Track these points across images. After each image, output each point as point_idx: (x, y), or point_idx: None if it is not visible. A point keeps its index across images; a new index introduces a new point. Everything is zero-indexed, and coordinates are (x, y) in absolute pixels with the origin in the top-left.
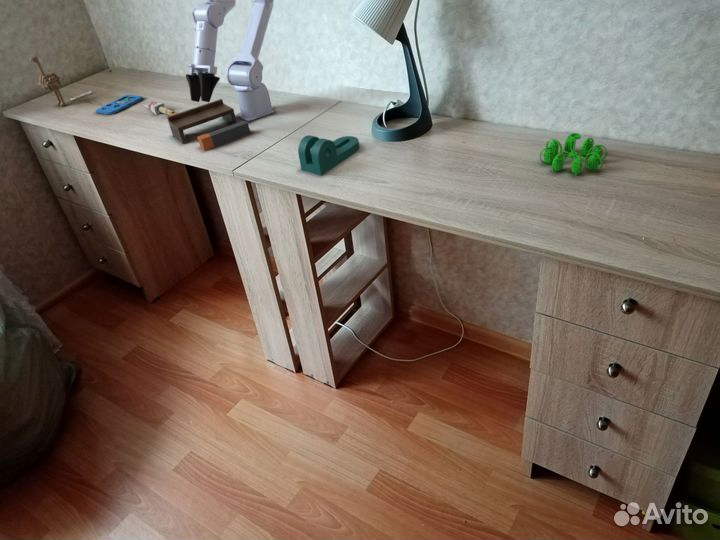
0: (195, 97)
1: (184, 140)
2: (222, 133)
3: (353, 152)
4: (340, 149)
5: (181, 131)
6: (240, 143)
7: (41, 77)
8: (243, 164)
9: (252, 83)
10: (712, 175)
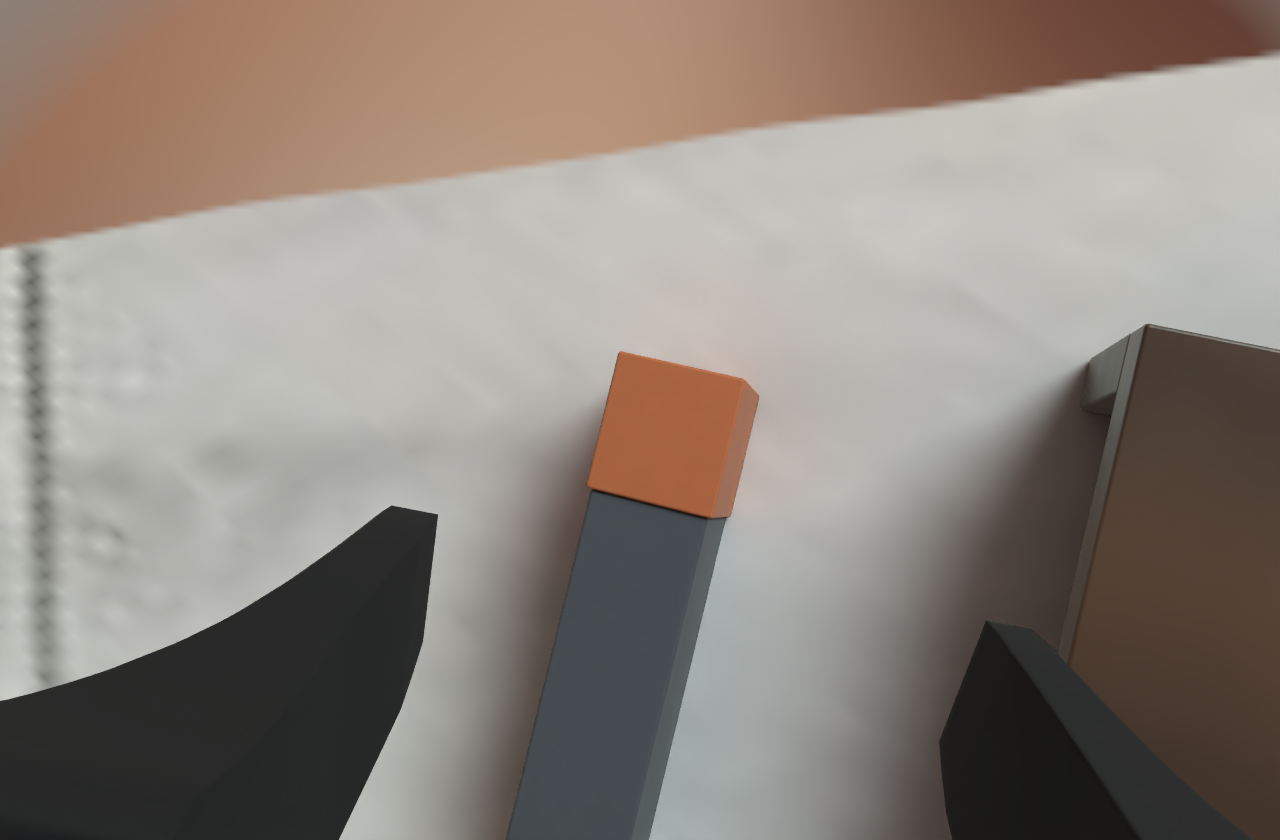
0: (979, 730)
1: (1092, 382)
2: (557, 648)
3: None
4: None
5: (1119, 363)
6: (414, 711)
7: None
8: (31, 374)
9: None
10: None
